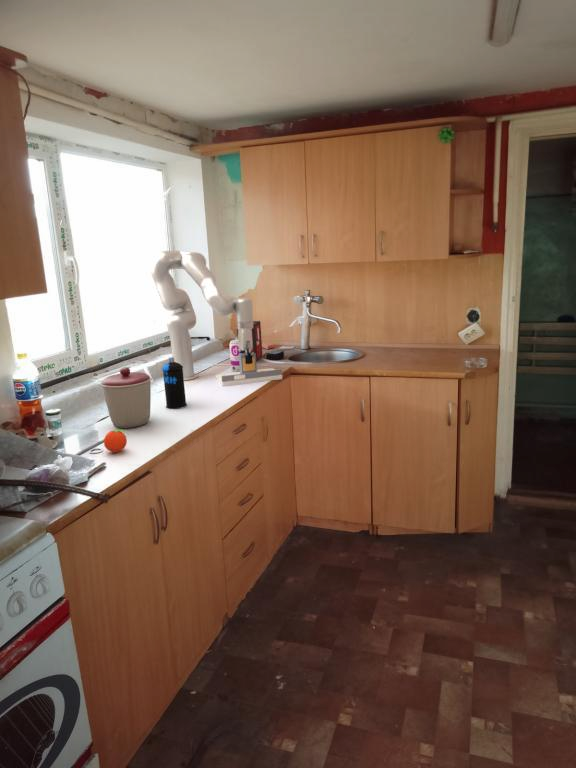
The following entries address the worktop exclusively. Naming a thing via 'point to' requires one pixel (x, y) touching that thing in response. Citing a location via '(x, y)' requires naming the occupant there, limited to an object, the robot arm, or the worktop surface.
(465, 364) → the worktop surface
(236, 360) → the supplement can
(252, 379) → the shelf board
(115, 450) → the clementine
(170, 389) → the aerosol can
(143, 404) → the canister
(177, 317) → the robot arm
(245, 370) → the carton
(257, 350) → the cleaning product box
